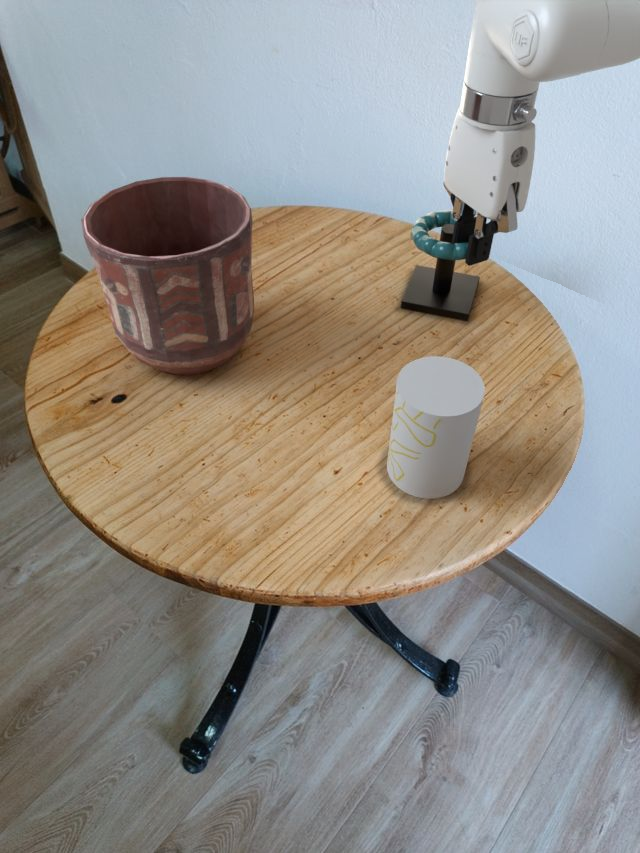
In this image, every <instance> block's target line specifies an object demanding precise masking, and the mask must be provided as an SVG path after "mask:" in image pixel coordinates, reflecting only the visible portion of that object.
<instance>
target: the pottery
mask: <svg viewBox="0 0 640 853" xmlns="http://www.w3.org/2000/svg"><path fill="white" fill-rule="evenodd" d="M80 221H81V227H82V229H81V230H82V234H83V239H84V242H85V245H86V248H87V250H88V252H89V254H90V257H91V260H92V263H93V265H94V268H95V270H96V272H97V276H98V278H99V282H100V284H101V285H100V286H101V288H102V291H103V294H104V298H105V302H106V304H107V308H108V313H109V317H110V322H111V324H112V327H113V330H114V333H115V335H116V337H117V338H118V339H119V341H120V343H121V344H122V345H123V346H124V347H125V348H126V349H127V351H128V352H129V353H130V354H131V355H132V356H133V357H134V358H135V359H137V361H139V362H140V363H142V364H144V365H147V366H148V367H151V368H153V369H155V370H157V371H160V372H163V373H167V374H173V375H178V376H187V375H189V376H190V375H198V374H203V373H206V372H209V371H213V370H214V369H217V368H220V366H223V365H224V364H225V363H227V362H228V361H230V360H231V359H232V358H233V357H234V356H235V355H237V353H239V351H241V349H242V347H243V345H244V344H245V342H246V340H247V339H248V336H250V333H251V331H252V326H253V320H254V313H255V295H254V283H253V272H252V271H253V270H252V269H253V268H252V255H253V253H252V252H253V250H252V248H253V247H252V246H253V245H252V244H253V243H252V241H253V213H252V208H251V207H250V204H249V203H248V201H247V199H246V197H245V196H244V195H242V194H241V193H240V192H238V191H237V190H235V189H234V188H232V187H230V186H228V185H225V184H222V183H220V182H217V181H213V180H210V179H205V178H198V177H190V176H162V177H161V176H160V177H155V178H150V179H144V180H137V181H134V182H131V183H127V184H125V185H122V186H120V187H117V188H114V189H112V190H109V191H107V192H106V193H105V194H104V195H102V196H101V197H99V198H98V199H96V200H95V201H93V202H92V203H90V205H89V206H88V208H87V209H86V211H85V212H84V214H83V216H82V217H81V219H80Z"/></svg>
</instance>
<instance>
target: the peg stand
mask: <svg viewBox="0 0 640 853" xmlns="http://www.w3.org/2000/svg"><path fill="white" fill-rule="evenodd" d="M453 231H454V224H446V225H444V226H443V227H440V236H439V241H442V242H448V243H452V237H453ZM456 261H457V260H455V261H453V260H446V259H441V258H436V262H435V267H431V266H430V267H429V266H424V265H419V264H416V265H415V266H414V269H413V271H412V274H411V277H410V279H409V282H408V284H407V286H406V288H405V291H404V294H403V297H402V299H401V301H400V309H401V310H402V309H403V310H406V311H410V312H411V311H413V312H416V313H417V312H418V313H422V314H427V315H432V316H437V317H442V318H446V319H447V318H448V319H453V320H458V321H462V322H463V321H464V322H469V319H470V315H471V312H472V308H473V305H474V301H475V298H476V294H477V290H478V286H479V284H480V278H481V276H478V275H474V274H469V273H462V272H457V271H455V265H456Z"/></svg>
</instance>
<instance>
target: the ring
mask: <svg viewBox="0 0 640 853" xmlns="http://www.w3.org/2000/svg"><path fill="white" fill-rule="evenodd" d="M452 213H453V209H447V210H446V209H445V210H437V211H431V212H429V213H427V214H425V215H423V216H421V217H418V218H417V219H416V220H415V222H414V223H413V226H412V228H411V230H410V237H411V240H412V241H413V243H414V245H415V246H416V248H417V249H418V250H419V251H421V252H423V253H425V254H426V255H429V256H430V257H432V258H434V259H435V258H436V259H437V258H441V259H446V260H453V261H455V260H456V261H462V260H465V259H466V254H467V248H468V243H469V242H464V243H455V244H454V243H448V242H442V241H440V240H439V239H437V238H435V237H432V236H430V234H429V232H430V231H432V230H434V229H436V228H442V227H443V226H444V225H446V224H455V223H456V221H454V220H453V218H452ZM474 217H477V215H475V216H474ZM487 223H488V222H486V224H487ZM456 261H455V262H456Z"/></svg>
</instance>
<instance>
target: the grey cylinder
mask: <svg viewBox="0 0 640 853" xmlns="http://www.w3.org/2000/svg"><path fill="white" fill-rule="evenodd" d="M485 394H486V387H485V383H484V381H483V378H482V376H481V375H480V374H479V373H478V372H477V371H476V370H475V369H474V368H473V367H472V366H470V365H468V364H467V363H465V362H463V361H461V360H458V359H456V358H451V357H447V356H439V355H437V356H436V355H434V356H433V355H431V356H424V357H420V358H416V359H414V360H412V361H410V362H408V363H407V364H406V365H404V366H403V367H402V368H401V369H400V371H399V372H398V375H397V378H396V384H395V394H394V402H393V411H392V419H391V426H390V427H391V428H390V435H389V443H388V451H387V460H386V470H387V474H388V477H389V479H390V481H391V482H392V483H393V484H394V486H396V487H397V489H399V490H401V491H402V492H404V493H405V494H408V495H409V496H411V497H415V498H419V499H426V500H431V499H432V500H434V499H441V498H444V497H447V496H449V495H451V494H453V493H454V492H455V491H457V490H458V489H459V487H460V486H461V484H462V483H463V481H464V479H465V478H464V477H465V475H466V470H467V467H468V466H467V465H468V461H469V458H470V453H471V449H472V446H473V442H474V439H475V438H474V437H475V434H476V430H477V426H478V423H479V422H478V421H479V419H480V414H481V410H482V406H483V401H484V398H485Z"/></svg>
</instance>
